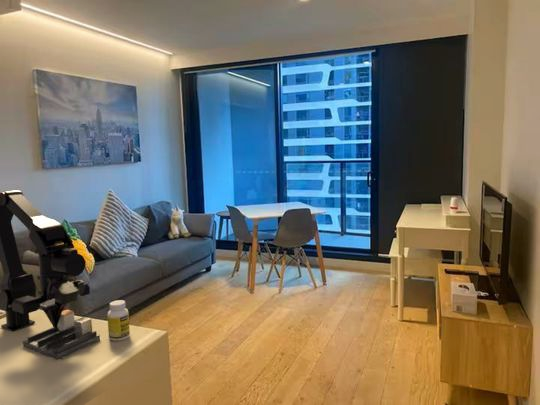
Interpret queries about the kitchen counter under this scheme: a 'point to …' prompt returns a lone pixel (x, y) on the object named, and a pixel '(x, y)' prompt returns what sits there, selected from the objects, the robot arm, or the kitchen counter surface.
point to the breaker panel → (63, 339)
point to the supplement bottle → (118, 321)
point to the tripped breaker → (66, 320)
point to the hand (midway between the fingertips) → (55, 327)
